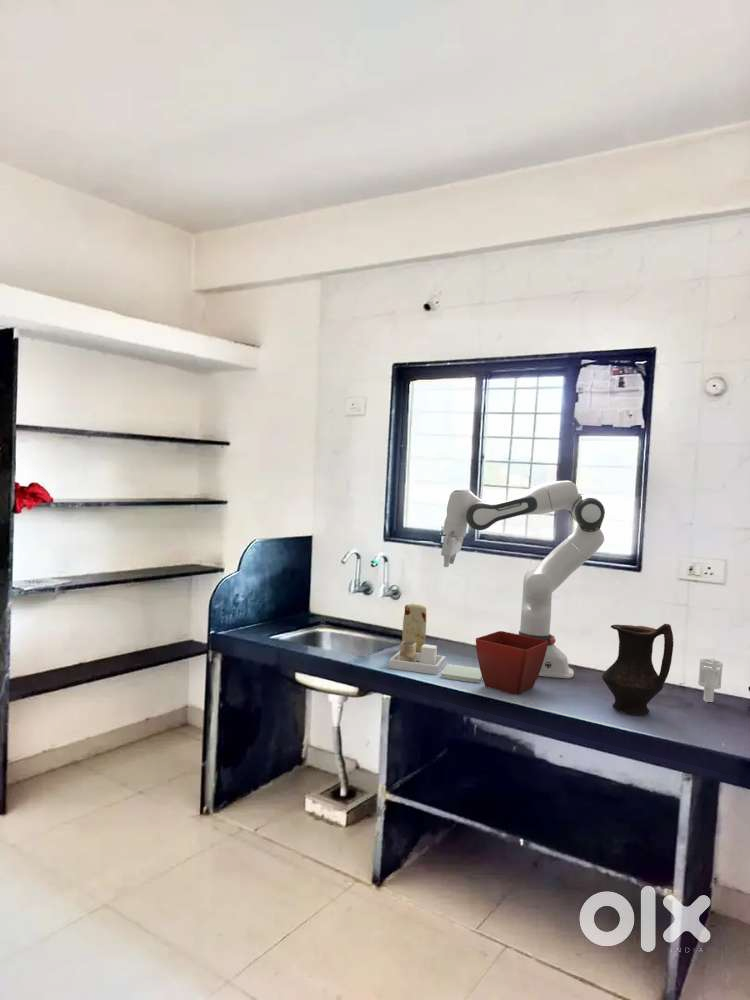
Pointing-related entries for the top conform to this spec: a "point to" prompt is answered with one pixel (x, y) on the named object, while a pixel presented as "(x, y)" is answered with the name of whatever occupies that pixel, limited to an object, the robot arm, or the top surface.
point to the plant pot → (510, 661)
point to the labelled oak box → (407, 651)
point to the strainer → (710, 677)
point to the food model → (414, 625)
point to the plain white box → (428, 654)
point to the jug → (637, 668)
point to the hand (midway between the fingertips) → (448, 565)
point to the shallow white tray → (417, 664)
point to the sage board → (462, 673)
